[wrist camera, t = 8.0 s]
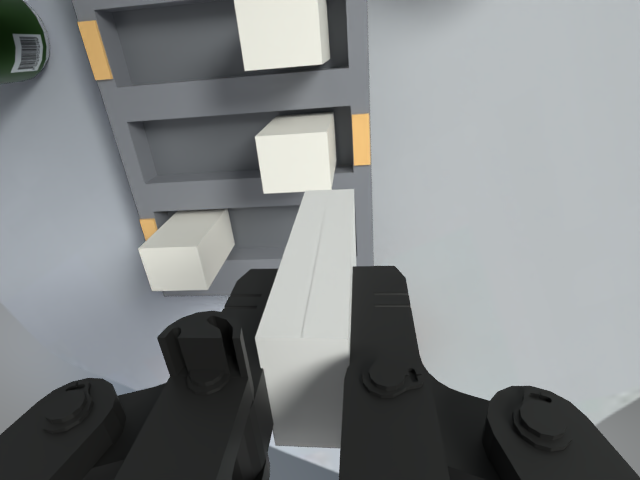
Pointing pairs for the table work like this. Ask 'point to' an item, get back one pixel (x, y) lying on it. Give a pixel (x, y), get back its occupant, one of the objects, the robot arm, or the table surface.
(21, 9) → the beer can
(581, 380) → the table surface
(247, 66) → the white rectangular block
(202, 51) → the switch board
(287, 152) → the white cuboid
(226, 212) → the tab
